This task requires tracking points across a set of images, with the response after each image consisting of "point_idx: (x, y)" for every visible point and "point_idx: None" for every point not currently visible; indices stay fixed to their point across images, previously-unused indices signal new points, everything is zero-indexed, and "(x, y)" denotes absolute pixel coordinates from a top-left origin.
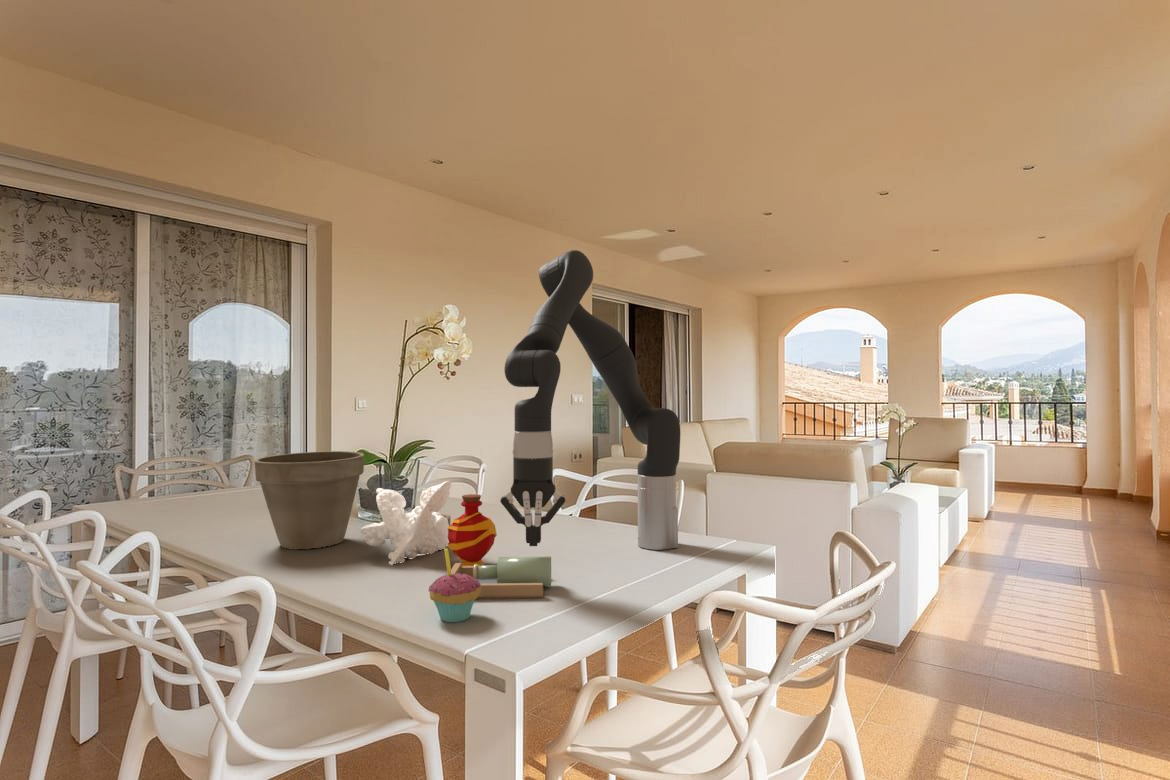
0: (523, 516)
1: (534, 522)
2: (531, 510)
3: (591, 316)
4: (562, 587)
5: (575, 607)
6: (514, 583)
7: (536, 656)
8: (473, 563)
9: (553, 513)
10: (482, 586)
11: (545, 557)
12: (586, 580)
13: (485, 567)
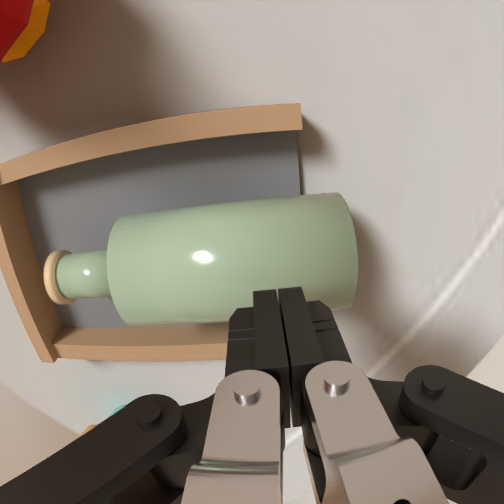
0: (193, 457)
1: (306, 456)
2: (279, 490)
3: None
4: (361, 227)
5: (379, 370)
6: (218, 346)
7: (301, 490)
8: (17, 44)
9: (465, 472)
10: (132, 360)
11: (332, 287)
12: (432, 150)
13: (87, 296)
